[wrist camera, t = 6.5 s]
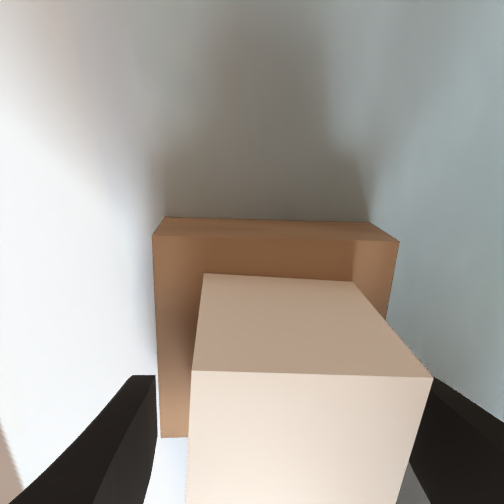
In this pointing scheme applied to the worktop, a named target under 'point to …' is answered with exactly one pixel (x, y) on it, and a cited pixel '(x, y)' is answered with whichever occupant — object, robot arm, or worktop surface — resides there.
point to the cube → (298, 395)
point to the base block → (250, 264)
